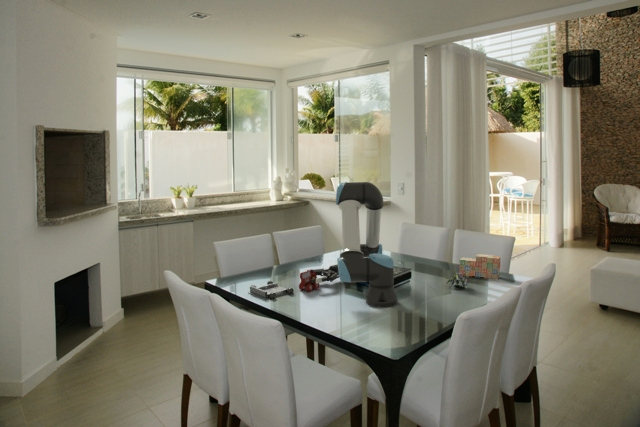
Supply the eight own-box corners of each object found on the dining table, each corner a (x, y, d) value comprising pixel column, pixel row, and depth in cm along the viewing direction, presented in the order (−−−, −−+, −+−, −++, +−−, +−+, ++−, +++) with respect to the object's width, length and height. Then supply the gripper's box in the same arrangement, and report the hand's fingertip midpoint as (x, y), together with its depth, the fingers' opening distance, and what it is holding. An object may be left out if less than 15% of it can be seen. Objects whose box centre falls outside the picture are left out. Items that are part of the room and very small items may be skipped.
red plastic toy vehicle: (322, 288, 251) (321, 269, 249) (306, 293, 242) (305, 274, 240) (312, 285, 255) (312, 267, 254) (296, 291, 246) (296, 271, 245)
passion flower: (464, 298, 245) (471, 284, 237) (444, 294, 246) (450, 280, 238) (463, 281, 253) (470, 267, 245) (443, 278, 254) (449, 263, 246)
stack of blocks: (459, 275, 270) (459, 254, 268) (461, 272, 276) (462, 252, 274) (497, 279, 259) (498, 258, 258) (500, 277, 265) (500, 255, 263)
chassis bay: (295, 292, 243) (295, 286, 242) (267, 300, 231) (266, 293, 231) (273, 285, 258) (273, 278, 257) (245, 292, 246) (245, 285, 245)
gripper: (353, 282, 253) (323, 290, 239) (323, 273, 271) (293, 280, 258) (353, 268, 252) (323, 276, 238) (322, 260, 270) (293, 267, 257)
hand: (307, 278), depth 248 cm, fingers open, 13 cm apart
